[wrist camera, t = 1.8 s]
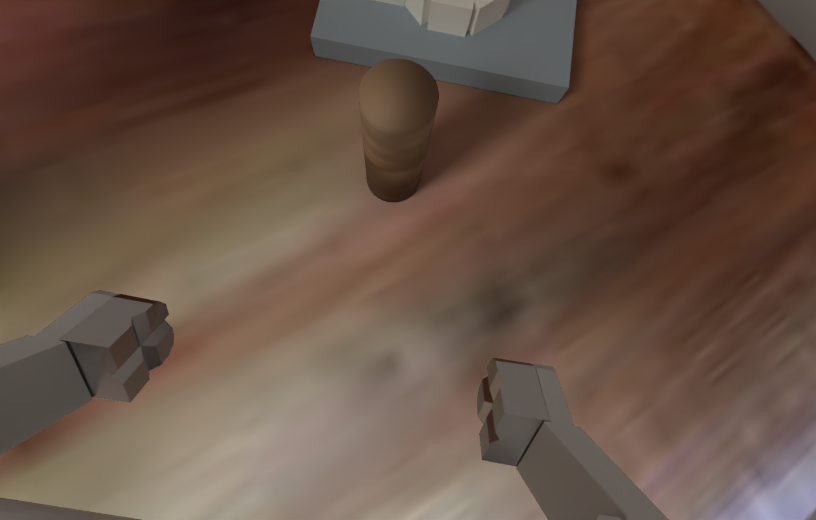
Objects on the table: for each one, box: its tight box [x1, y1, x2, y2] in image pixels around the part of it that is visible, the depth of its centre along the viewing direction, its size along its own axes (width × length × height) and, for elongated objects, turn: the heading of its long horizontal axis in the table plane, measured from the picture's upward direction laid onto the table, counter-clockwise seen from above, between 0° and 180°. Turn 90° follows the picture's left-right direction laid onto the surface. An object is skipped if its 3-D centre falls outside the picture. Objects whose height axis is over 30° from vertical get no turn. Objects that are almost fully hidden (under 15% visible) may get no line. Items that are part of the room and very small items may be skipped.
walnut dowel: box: [359, 59, 439, 202], centre depth 24 cm, size 4×4×10 cm
